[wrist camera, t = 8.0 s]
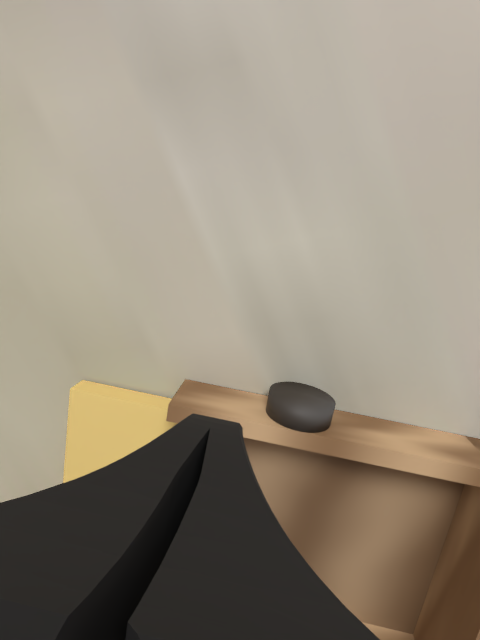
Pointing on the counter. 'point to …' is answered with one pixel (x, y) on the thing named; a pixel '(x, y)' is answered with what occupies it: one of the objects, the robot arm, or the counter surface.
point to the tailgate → (109, 425)
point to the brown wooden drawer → (365, 504)
